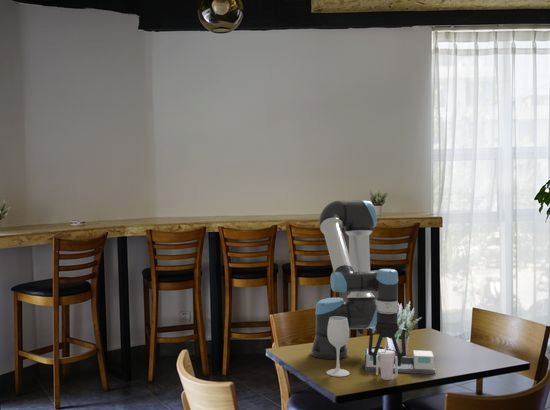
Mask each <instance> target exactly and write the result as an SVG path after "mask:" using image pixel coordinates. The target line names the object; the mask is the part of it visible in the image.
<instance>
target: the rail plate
mask: <svg viewBox="0 0 550 410" xmlns="http://www.w3.org/2000/svg"><path fill="white" fill-rule="evenodd" d="M364 357H365V362H364V363H365V364H364V371H365V372H376V367H366V354H365V355H364ZM378 373H381V368H380V367H378ZM393 373H395V357H394V365H393ZM398 373H399V374H401V373H402V374H403V373H404V374H422V375H424V374H425V375H426V374H427V375H435V374H436V369H435V367H434V370H429V369H414V364H413V356H403V357H401V366H398Z"/></svg>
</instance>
